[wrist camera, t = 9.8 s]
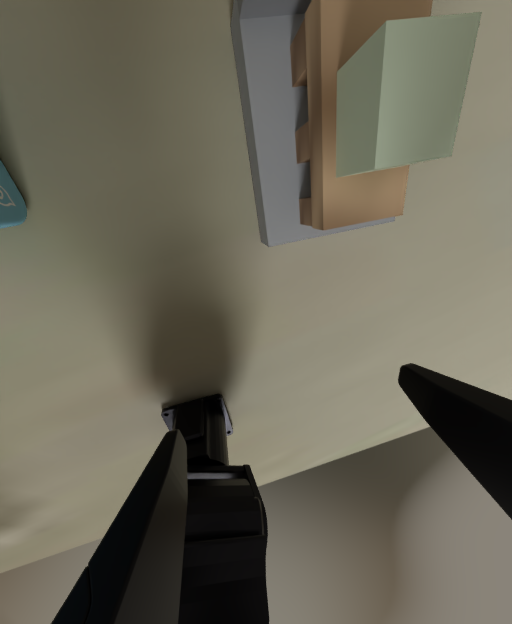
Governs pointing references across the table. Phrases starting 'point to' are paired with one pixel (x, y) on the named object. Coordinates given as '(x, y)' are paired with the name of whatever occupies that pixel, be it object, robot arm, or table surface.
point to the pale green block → (404, 93)
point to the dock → (275, 116)
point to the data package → (10, 201)
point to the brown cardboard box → (323, 108)
